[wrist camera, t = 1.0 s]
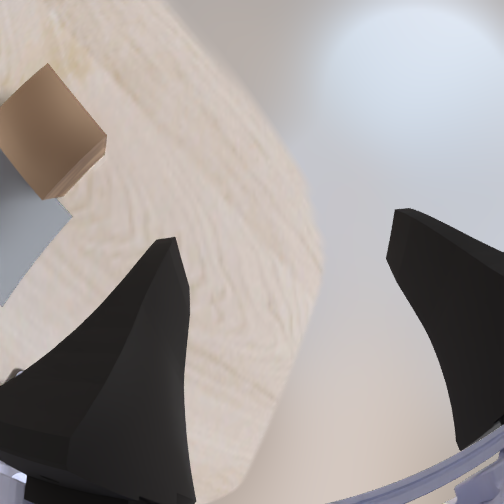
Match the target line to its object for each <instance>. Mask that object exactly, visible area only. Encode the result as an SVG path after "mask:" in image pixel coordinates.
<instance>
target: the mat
mask: <svg viewBox="0 0 504 504" xmlns="http://www.w3.org/2000/svg"><path fill="white" fill-rule="evenodd" d="M72 217H73V216H72V215H71V214H70V213H69V212H68V211H67V210H66V209H65V208H64V207H63V205H62V204H61V203H60V202H59V201H58V200H57V199H56V198H51V199H46V200H41V198H40V197H39V196H38V195H37V194H36V193H35V191H34V190H33V189H32V188H31V187H30V185H29V184H28V183H27V182H26V181H25V179H24V178H23V177H22V176H21V174H20V173H19V172H18V171H17V169H16V168H15V167H14V166H13V164H12V163H11V162H10V160H9V159H8V158H7V156H6V155H5V154H4V152H3V151H2V150H1V148H0V305H1V306H2V307H3V305H4V304H5V302H6V301H7V299H8V298H9V296H10V295H11V293H12V292H13V290H14V289H15V288H16V286H17V285H18V283H19V282H20V281H21V279H22V278H23V277H24V275H25V274H26V272H27V271H28V270H29V268H30V267H31V266H32V265H33V263H34V262H35V261H36V259H37V258H38V257H39V256H40V254H41V253H42V252H43V251H44V249H45V248H46V247H47V246H48V244H49V243H50V242H51V241H52V240H53V239H54V237H55V236H56V235H57V234H58V233H59V231H60V230H61V229H62V228H63V227H64V226H65V225H66V223H67V222H68V221H69V220H70V219H71V218H72Z"/></svg>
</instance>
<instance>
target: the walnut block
mask: <svg viewBox="0 0 504 504" xmlns="http://www.w3.org/2000/svg"><path fill="white" fill-rule="evenodd" d="M106 139H107V135H106V134H105V132H104V131H103V130H102V129H101V128H100V126H99V125H98V124H97V123H96V122H95V120H94V119H93V118H92V117H91V116H90V114H89V113H88V112H87V111H86V110H85V108H84V107H83V106H82V105H81V104H80V102H79V101H78V100H77V99H76V97H75V96H74V95H73V94H72V93H71V91H70V90H69V89H68V88H67V86H66V85H65V84H64V83H63V81H62V80H61V79H60V78H59V76H58V75H57V74H56V73H55V71H54V70H53V69H52V68H51V66H50V65H49V64H48V63H47V64H46V65H45V66H44V67H43V68H41V69H40V70H39V71H38V72H37V73H36V74H34V75H33V76H32V77H31V78H30V79H29V80H28V81H26V82H25V83H24V84H23V85H22V86H21V87H20V88H19V89H18V90H17V91H16V92H15V93H14V94H13V95H12V96H11V97H10V98H9V99H8V100H7V101H6V102H5V103H4V104H3V105H2V106H1V107H0V148H1V150H2V151H3V152H4V154H5V155H6V156H7V158H8V159H9V160H10V162H11V163H12V164H13V166H14V167H15V168H16V169H17V171H18V172H19V173H20V174H21V176H22V177H23V178H24V179H25V181H26V182H27V183H28V184H29V185H30V187H31V188H32V189H33V190H34V191H35V193H36V194H37V195H38V196H39V197H40V198H41V200H46V199H51V198H57V197H62V196H64V195H65V194H66V193H67V192H68V191H69V190H70V189H71V188H72V187H73V186H74V185H75V184H76V183H77V182H78V181H79V180H80V179H81V178H82V177H83V176H84V175H85V174H86V173H87V172H88V171H89V170H90V169H91V168H92V167H93V166H94V165H95V164H96V163H97V162H98V161H99V160H100V159H101V158H102V157H103V156H104V155H105V148H106Z"/></svg>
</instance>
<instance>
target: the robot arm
mask: <svg viewBox="0 0 504 504" xmlns="http://www.w3.org/2000/svg"><path fill="white" fill-rule="evenodd" d="M386 260H387V262H388V264H389V266H390V269H391V271H392V273H393V275H394V277H395V279H396V281H397V283H398V285H399V287H400V288H401V290H402V292H403V293H404V295H405V296H406V298H407V300H408V301H409V303H410V305H411V306H412V308H413V309H414V311H415V313H416V315H417V316H418V318H419V320H420V321H421V323H422V325H423V326H424V328H425V330H426V332H427V334H428V336H429V338H430V340H431V343H432V345H433V348H434V350H435V353H436V355H437V358H438V360H439V363H440V366H441V369H442V372H443V376H444V379H445V382H446V385H447V390H448V394H449V398H450V402H451V407H452V412H453V419H454V426H455V434H456V442H457V444H458V447H459V450H460V451H461V452H459V453H457V454H456V455H454V456H452V457H450V458H448V459H446V460H444V461H442V462H440V463H438V464H436V465H434V466H432V467H430V468H428V469H426V470H423V471H421V472H419V473H417V474H414V475H412V476H410V477H407V478H405V479H402V480H400V481H398V482H395V483H392V484H389V485H387V486H384V487H381V488H378V489H375V490H372V491H369V492H367V493H363V494H360V495H357V496H353V497H350V498H346V499H343V500H339V501H335V502H331V503H327V504H405V503H408V502H410V501H412V500H415V499H417V498H419V497H421V496H423V495H426V494H428V493H430V492H432V491H434V490H436V489H438V488H440V487H442V486H444V485H446V484H447V483H449V482H451V481H453V480H455V479H456V478H458V477H460V476H462V475H463V474H465V473H467V472H468V471H470V470H472V469H473V468H475V467H477V466H478V465H480V464H481V463H483V462H484V461H486V460H487V459H489V458H490V457H492V456H493V455H494V454H496V453H497V452H499V451H500V453H499V458H498V460H497V461H495V462H494V463H492V464H490V465H489V466H487V467H485V468H484V469H482V470H480V471H478V472H477V473H475V474H473V475H472V476H470V477H468V478H467V479H465V480H464V481H462V482H461V483H460V484H458V485H456V486H455V488H454V490H455V493H456V497H455V498H453V499H451V500H449V501H447V502H445V503H443V504H504V252H501V251H499V250H497V249H495V248H493V247H490V246H488V245H486V244H484V243H482V242H480V241H478V240H476V239H474V238H472V237H470V236H468V235H466V234H464V233H463V232H461V231H459V230H457V229H455V228H453V227H451V226H449V225H447V224H445V223H443V222H441V221H439V220H437V219H435V218H433V217H431V216H428V215H426V214H424V213H422V212H419V211H416V210H414V209H410V208H406V209H396V210H395V212H394V218H393V225H392V230H391V236H390V241H389V246H388V252H387V256H386ZM189 318H190V293H189V284H188V281H187V277H186V274H185V270H184V267H183V263H182V260H181V256H180V252H179V249H178V245H177V241H176V238H175V237H172V238H165V239H159V240H156V241H155V242H154V243H153V244H152V245H151V246H150V248H149V249H148V250H147V251H146V252H145V254H144V255H143V256H142V257H141V258H140V260H139V261H138V262H137V263H136V264H135V266H134V267H133V268H132V269H131V270H130V272H129V273H128V274H127V275H126V277H125V278H124V279H123V280H122V281H121V282H120V283H119V285H118V286H117V287H116V288H115V289H114V290H113V291H112V292H111V294H110V295H109V296H108V297H107V298H106V299H105V300H104V302H103V303H102V304H101V305H100V306H99V307H98V308H97V309H96V310H95V311H94V312H93V313H92V314H91V315H90V316H89V317H88V318H87V319H86V320H85V321H84V322H83V323H82V324H81V325H80V326H79V327H78V328H77V329H75V330H74V331H73V332H72V333H71V334H70V335H69V336H67V337H66V338H65V339H64V340H63V341H62V342H60V343H59V344H58V345H57V346H56V347H55V348H54V349H52V350H51V351H50V352H49V353H47V354H46V355H45V356H44V357H42V358H41V359H40V360H38V361H37V362H36V363H34V364H33V365H32V366H30V367H29V368H27V369H26V370H25V371H19V372H18V373H17V375H16V376H15V377H14V378H13V379H11V380H10V381H8V382H6V383H5V384H3V385H2V386H0V504H194V503H195V502H196V497H195V492H194V486H193V480H192V474H191V468H190V461H189V453H188V444H187V434H186V422H185V406H184V370H185V359H186V348H187V338H188V328H189ZM500 426H501V427H500ZM497 428H498V429H497ZM496 429H497V430H496ZM494 430H495V431H494ZM493 431H494V432H493ZM491 432H492V433H491ZM490 433H491V434H490ZM488 434H489V435H488ZM485 436H486V437H485ZM482 438H483V439H482ZM480 439H481V440H480ZM479 440H480V441H479ZM477 441H478V442H477ZM475 442H476V443H475ZM474 443H475V444H474ZM472 444H473V445H472ZM470 445H471V446H470ZM469 446H470V447H469ZM467 447H468V448H467ZM465 448H466V449H465ZM462 450H463V451H462Z"/></svg>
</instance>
